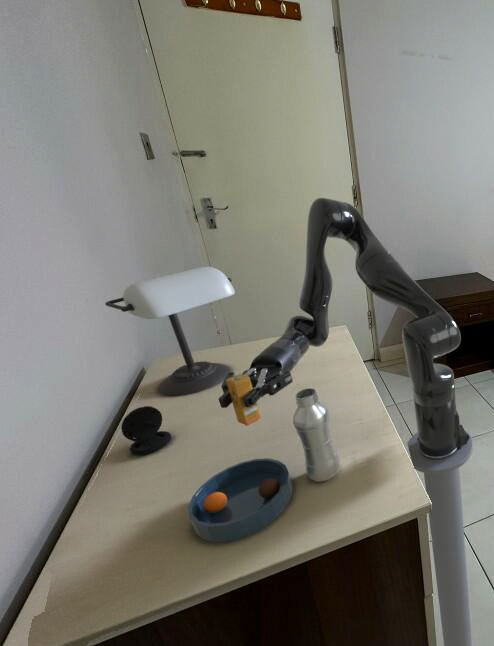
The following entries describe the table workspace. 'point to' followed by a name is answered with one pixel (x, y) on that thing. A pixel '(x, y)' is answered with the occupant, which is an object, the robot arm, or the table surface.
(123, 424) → the webcam
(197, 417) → the table surface
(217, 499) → the orange ball
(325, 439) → the silver bottle
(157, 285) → the lamp
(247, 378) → the supplement box
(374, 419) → the table surface
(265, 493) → the brown ball
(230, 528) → the bowl
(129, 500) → the table surface
